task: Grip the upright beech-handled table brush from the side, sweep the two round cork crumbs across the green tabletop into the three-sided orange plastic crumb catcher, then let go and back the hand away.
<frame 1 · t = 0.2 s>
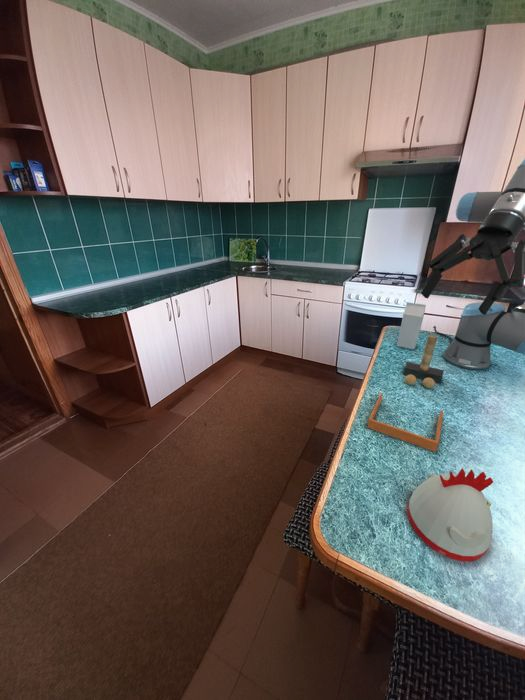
hand: (450, 303, 68), 36 cm above the table, tool tilted 35°, fingers open, 13 cm apart
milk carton: (406, 345, 128), on the table
crumb b: (428, 382, 98), point 2 cm above the table
crumb a: (410, 379, 100), point 2 cm above the table
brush: (422, 375, 105), on the table
catcher: (404, 422, 84), on the table
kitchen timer: (445, 523, 58), on the table
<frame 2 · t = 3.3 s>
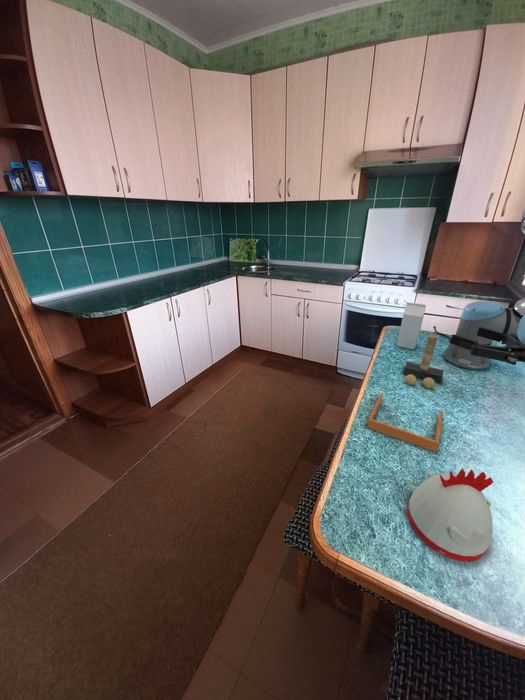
hand: (465, 334, 89), 20 cm above the table, tool horizontal, fingers open, 13 cm apart
nothing on the table moved.
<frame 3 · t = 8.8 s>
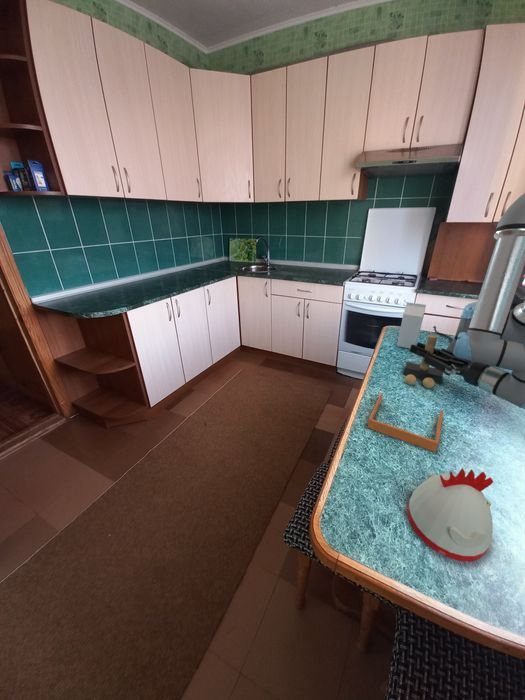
hand: (414, 346, 105), 10 cm above the table, tool horizontal, fingers closed on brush, 3 cm apart
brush: (422, 375, 105), on the table, touching gripper
everything else where it was.
when the fingers open (10 cm above the table, at t = 16.2 s): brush stays where it is, on the table.
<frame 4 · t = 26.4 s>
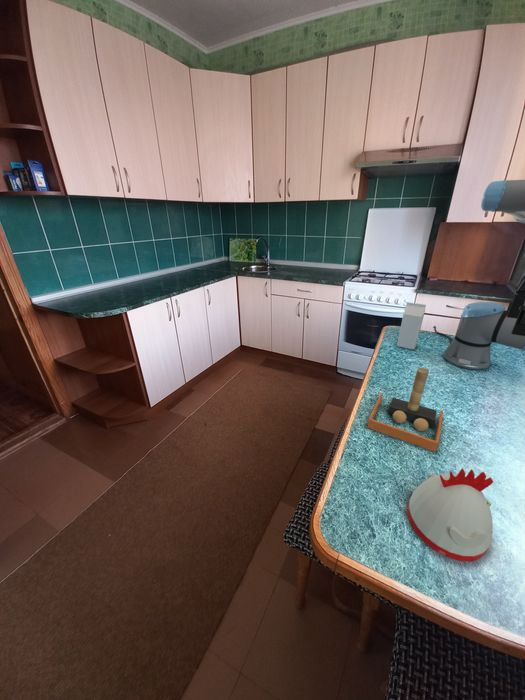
hand: (515, 325, 78), 27 cm above the table, tool pointing down, fingers open, 13 cm apart
crumb b: (421, 424, 80), point 2 cm above the table, tilted 39°
crumb a: (399, 416, 83), point 2 cm above the table, tilted 6°
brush: (410, 416, 86), on the table
everything else where it was.
at the end: crumb a inside the target area on the catcher (1.6 cm from its centre), point 1.8 cm above the catcher's base; crumb b inside the target area on the catcher (4.1 cm from its centre), point 1.8 cm above the catcher's base; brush moved 26.0 cm from its start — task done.
